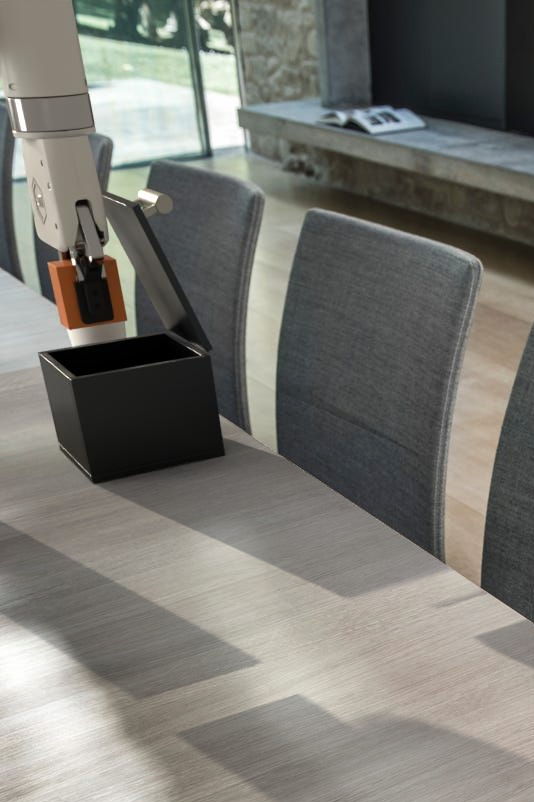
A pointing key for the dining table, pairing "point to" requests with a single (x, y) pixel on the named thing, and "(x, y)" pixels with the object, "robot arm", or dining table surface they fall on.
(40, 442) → the dining table surface
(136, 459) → the bin
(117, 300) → the orange block
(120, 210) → the bin lid
